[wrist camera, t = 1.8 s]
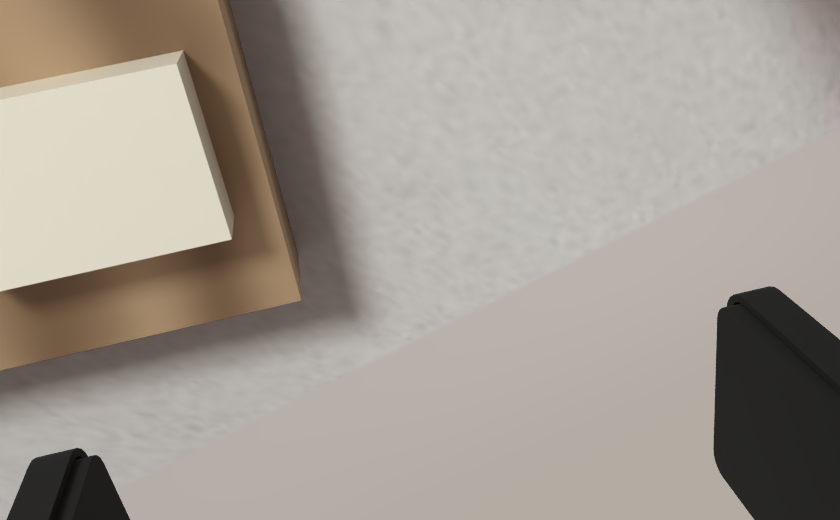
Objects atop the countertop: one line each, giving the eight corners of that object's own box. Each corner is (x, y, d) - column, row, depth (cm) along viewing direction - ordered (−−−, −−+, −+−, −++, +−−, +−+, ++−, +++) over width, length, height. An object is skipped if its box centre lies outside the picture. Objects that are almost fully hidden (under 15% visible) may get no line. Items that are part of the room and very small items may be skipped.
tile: (183, 50, 25) (176, 63, 23) (234, 216, 28) (231, 239, 26) (-102, 108, 24) (-131, 126, 23) (-20, 272, 27) (-40, 300, 25)
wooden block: (202, -97, 27) (191, -93, 23) (298, 255, 33) (301, 300, 30) (-342, 6, 25) (-440, 28, 22) (-130, 352, 32) (-180, 412, 28)
